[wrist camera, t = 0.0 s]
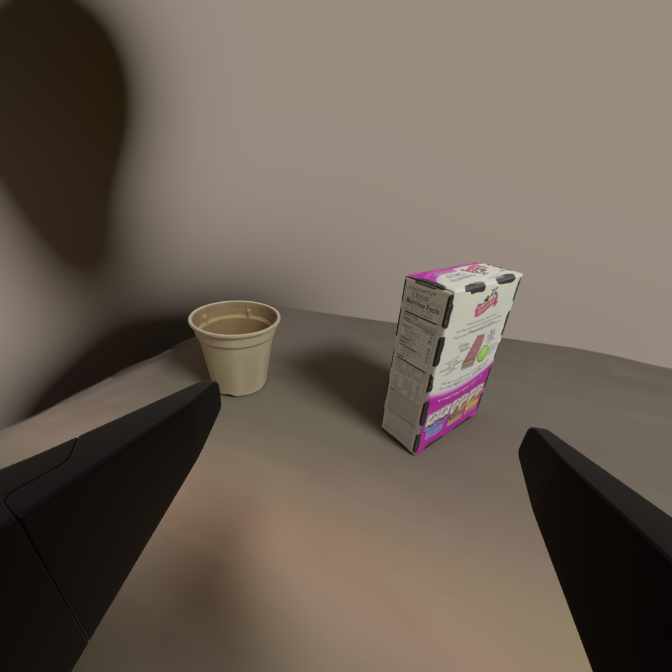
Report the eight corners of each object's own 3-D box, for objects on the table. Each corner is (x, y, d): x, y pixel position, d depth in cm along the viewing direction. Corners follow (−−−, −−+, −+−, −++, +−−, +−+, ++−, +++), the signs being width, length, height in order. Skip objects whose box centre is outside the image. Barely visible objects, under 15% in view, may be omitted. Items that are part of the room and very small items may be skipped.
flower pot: (295, 376, 40) (297, 313, 36) (242, 419, 32) (237, 344, 28) (238, 354, 44) (234, 294, 40) (179, 388, 36) (167, 318, 32)
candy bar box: (439, 392, 39) (476, 260, 32) (476, 415, 36) (527, 273, 29) (375, 426, 33) (403, 271, 26) (413, 458, 29) (458, 289, 22)
